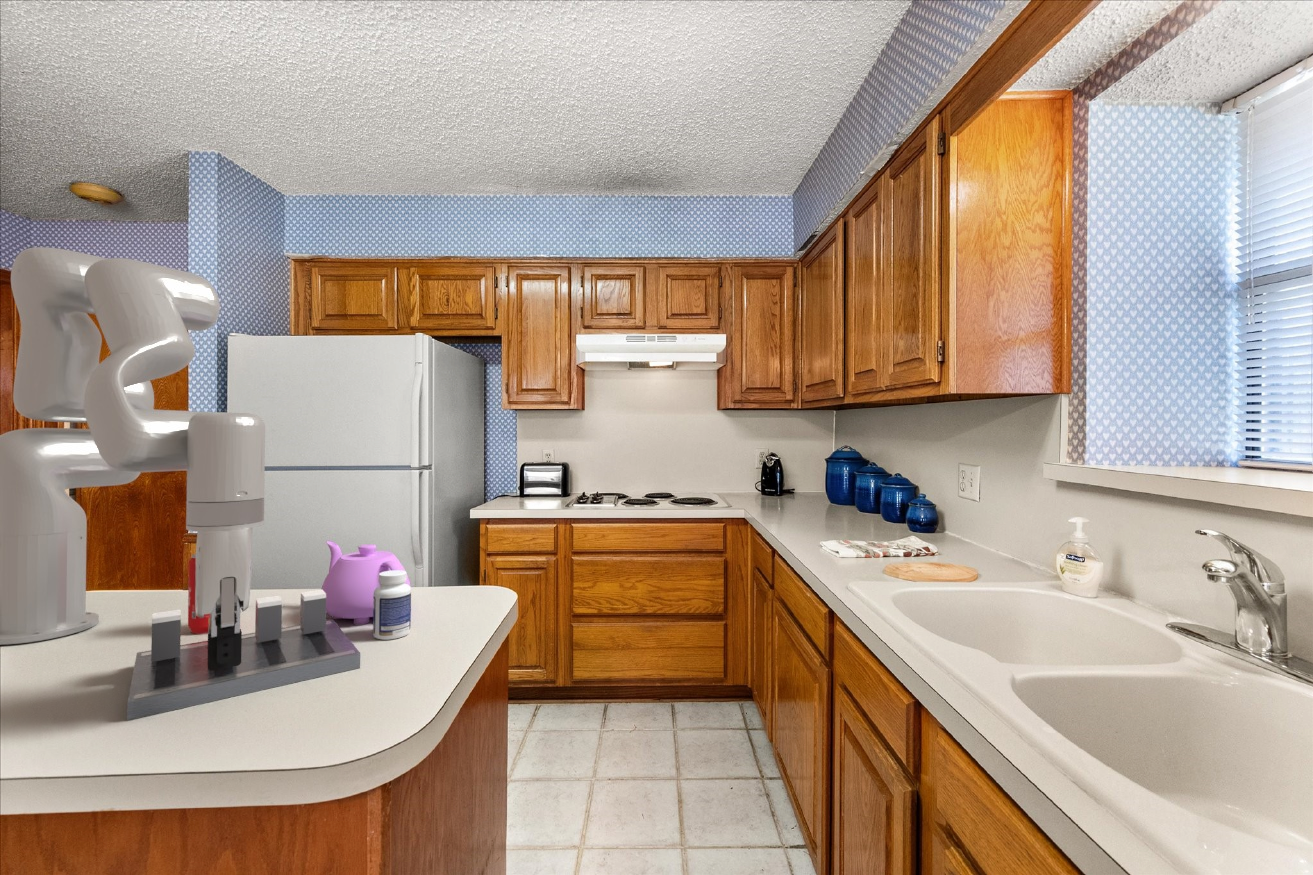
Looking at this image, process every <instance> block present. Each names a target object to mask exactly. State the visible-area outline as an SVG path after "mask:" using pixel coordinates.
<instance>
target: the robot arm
mask: <svg viewBox="0 0 1313 875" xmlns="http://www.w3.org/2000/svg"><path fill="white" fill-rule="evenodd" d="M10 285H11V291H12V296H13V299H14V302H15V304H16V309H17V312H18V314H19V321H20V325H21V326H20V337H19V346H18V352H17V360H16V367H15V368H16V369H15V374H14V375H15V376H14V383H13V395H12V398H13V399H12V400H13V404H14V408H15V409H16V411H17V413H19V414H20V416H23V417H25V418H27V419H29V420H35V421H41V422H54V423H79V424H80V423H85V424H86V423H87V427H88V428H74V427H73V428H69V427H68V428H66V427H65V428H64V427H63V428H62V427H61V428H60V427H34V428H33V427H32V428H31V427H30V428H29V427H27V428H21V429H20V428H19V429H15V430H14V429H13V430H11V431H6V432H5V433H2V434H0V646H4V645H18V644H27V643H34V642H40V641H46V640H50V639H51V640H52V639H57V638H62V637H66V636H69V635H73V634H76V633H80V632H83V631H86V630H88V629H90V628H93V627H94V626H96V625H97V624H98V623H99V622H100V617H99V616H100V615H99V614H98V613H96V612H91V611H86V605H87V601H86V598H87V597H86V594H87V592H86V591H87V538H88V537H87V535H88V534H87V532H88V530H87V529H88V527H87V526H88V525H87V522H88V521H87V515H86V512H85V510H84V509H83V508H82V506H81V505H80V504H79V503H78V502H77V501H75V500H74V499H73V498H72V497H71V496H70V495H69V494H68V493H67V492H66V490H70V489H78V488H93V487H97V488H99V487H109V486H110V487H111V486H121V485H126V484H129V483H132V482H134V481H135V480H137V478H138V477H139V476H140V475H141V473H156V472H175V471H176V472H177V471H179V472H181V471H186V517H185V519H186V520H185V521H186V522H185V530H187V531H190V532H191V531H193V532H197V534H196V535H197V536H196V544H195V546H196V547H195V554H196V571H195V609H196V615H197V616H198V617H200V618H204V614H210V633H211V634H208V633H207V641H208V659H207V665H208V670H209V671H214V670H219V669H224V668H229V667H234V666H238V665H240V664H241V648H242V635H243V633H242V628H241V612H243V613H244V612H245V611H247V609H248V608H249V605H250V597H251V585H252V584H251V583H252V567H253V566H252V565H253V564H252V563H253V560H252V559H253V528H256V527H261V526H263V525H265V475H266V474H265V472H266V469H265V463H266V462H265V460H266V454H265V453H266V425H265V422H264V420H263V418H261V417H260V416H258V415H256V414H253V413H246V412H245V413H244V412H227V411H226V412H225V411H224V412H223V411H222V412H220V411H217V412H215V411H191V410H173V409H172V410H170V409H155V408H154V406H155V393H154V388H153V385H152V384H153V383H152V382H151V381H154V380H156V379H157V380H158V379H161V378H164V377H168V376H170V375H173V374H176V373H177V372H180V371H182V370H183V369H184V368H186V367H187V366H188V365H189V364H190V363H191V362H192V361H193V359H194V357H195V352H196V351H195V350H196V349H195V345H194V343H193V340H192V339H191V336H190V334H189V332H188V331H193V332H201V331H206V330H208V329H209V330H210V328H212V326H214V325H215V323H216V322H217V320H218V318H219V317H220V316H219V315H220V308H221V305H220V299H219V296H218V294H217V291H216V290H215V288H214V286H213V285H212V284H211V283H210V282H209V280H207V279H205V278H204V277H203V276H201V275H199V274H196V273H192V272H189V271H185V270H180V269H177V268H172V267H169V266H168V267H167V266H164V265H159V264H155V263H150V262H147V261H142V260H136V259H131V258H125V257H124V258H123V257H111V258H110V257H109V258H106V257H103V256H99V255H98V256H97V255H93V254H88V253H83V252H80V251H75V250H69V249H63V248H57V247H56V248H55V247H46V246H45V247H43V246H37V247H35V246H34V247H29V248H26V249H23V250H21V251H20V252H19V253H18V255H16V258H15V259H14V261H13V264H12V268H11V271H10ZM89 314H91V315H95V316H96V317H95V318H96V320H97V321H98V324H99V327H100V330H101V332H102V334H103V337H104V340H105V342H106V345H107V347H108V350H109V352H110V355H108V356H107V357H106V358H104V360H102V361H101V362H100V354H101V351H102V350H101V349H102V343H103V342H102V341H103V338H102V334H101V332H100V330H99V328H98V327H97V325H96V324H95V322H94V321H93V319H92V318H91V317H90V315H89Z"/></svg>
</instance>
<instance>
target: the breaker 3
mask: <svg viewBox="0 0 1313 875" xmlns="http://www.w3.org/2000/svg"><path fill="white" fill-rule="evenodd" d="M299 614H300V619H299V620H300V624H299V625H300V629H301V631H302V632H303V634H308V633H314V632H319V631H325V630H326V620H327V612H326V593H325V592H324V591H323V590H321V589H317V590H316V589H315V590H309V591H302V592H300V613H299Z"/></svg>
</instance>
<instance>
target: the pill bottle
mask: <svg viewBox="0 0 1313 875" xmlns="http://www.w3.org/2000/svg"><path fill="white" fill-rule="evenodd" d="M407 575H408V573H407V571H406V570H405V571H403V570H392V571H385V572H381V573H379V580H378V582H379V584H380V586H379V587H377V588H376V589H375V590H374V595H373V617H372V618H373V619H372V631H373V632H372V636H373V637H374V638H375V639H377V640H383V641H384V640H386V641H388V640H389V641H390V640H395V639H399V638H402V637H405V636H407V635H409V634H410V632H411V628H412V627H411V625H412V624H411V623H412V622H411V621H412V586H411V585H410V586H411V587H410V586H409V585H407V584H405V582H406V579H407Z"/></svg>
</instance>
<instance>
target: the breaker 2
mask: <svg viewBox="0 0 1313 875" xmlns="http://www.w3.org/2000/svg"><path fill="white" fill-rule="evenodd" d="M282 615H283V600H282V598H281V596H280V595H274V596H273V595H272V596H266V597H260V598H259V597H258V598H255V626H254V627H255V631H254V633H255V638H256V640H257V643H259V642H264V641H270V640H275V639H281V637H282V628H283V627H282V626H283V625H282V624H283V616H282Z"/></svg>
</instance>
